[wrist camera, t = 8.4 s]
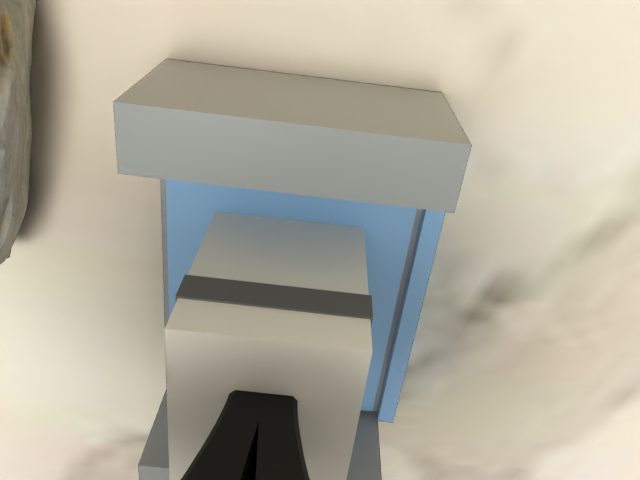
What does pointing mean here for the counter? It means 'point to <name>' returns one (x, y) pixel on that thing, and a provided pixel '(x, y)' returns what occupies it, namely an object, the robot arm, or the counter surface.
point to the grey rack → (300, 191)
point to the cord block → (272, 333)
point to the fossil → (14, 116)
